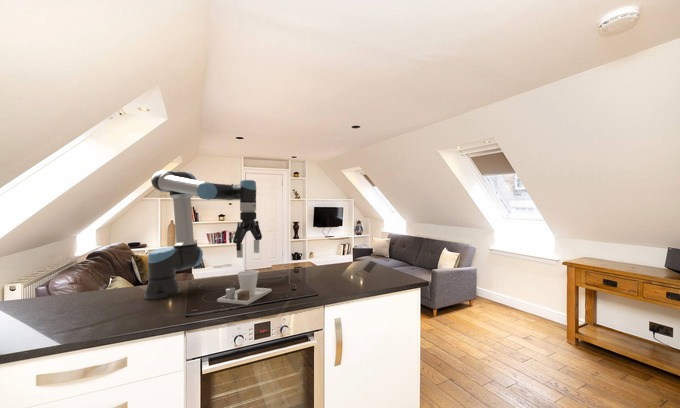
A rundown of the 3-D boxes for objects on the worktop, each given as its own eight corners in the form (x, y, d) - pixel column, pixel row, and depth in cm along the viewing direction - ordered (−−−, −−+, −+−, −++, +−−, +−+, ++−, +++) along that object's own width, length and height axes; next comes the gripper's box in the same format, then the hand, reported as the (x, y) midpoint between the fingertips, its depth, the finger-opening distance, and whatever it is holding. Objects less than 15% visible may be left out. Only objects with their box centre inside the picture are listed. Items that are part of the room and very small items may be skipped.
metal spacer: (223, 300, 129) (223, 289, 129) (229, 297, 133) (229, 287, 133) (231, 301, 128) (231, 290, 128) (236, 298, 132) (236, 287, 132)
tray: (217, 304, 128) (217, 298, 128) (244, 291, 147) (244, 286, 147) (247, 307, 123) (247, 301, 123) (271, 293, 142) (271, 288, 142)
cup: (255, 298, 132) (254, 274, 132) (234, 298, 132) (233, 275, 132) (261, 292, 142) (261, 270, 142) (242, 292, 142) (241, 270, 142)
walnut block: (237, 302, 127) (237, 293, 127) (240, 299, 131) (240, 290, 131) (246, 302, 127) (246, 293, 127) (249, 299, 131) (249, 290, 131)
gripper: (238, 212, 126) (238, 260, 125) (268, 211, 149) (268, 251, 149) (224, 212, 128) (224, 259, 128) (256, 211, 152) (256, 250, 151)
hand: (248, 255), depth 138 cm, fingers open, 13 cm apart
